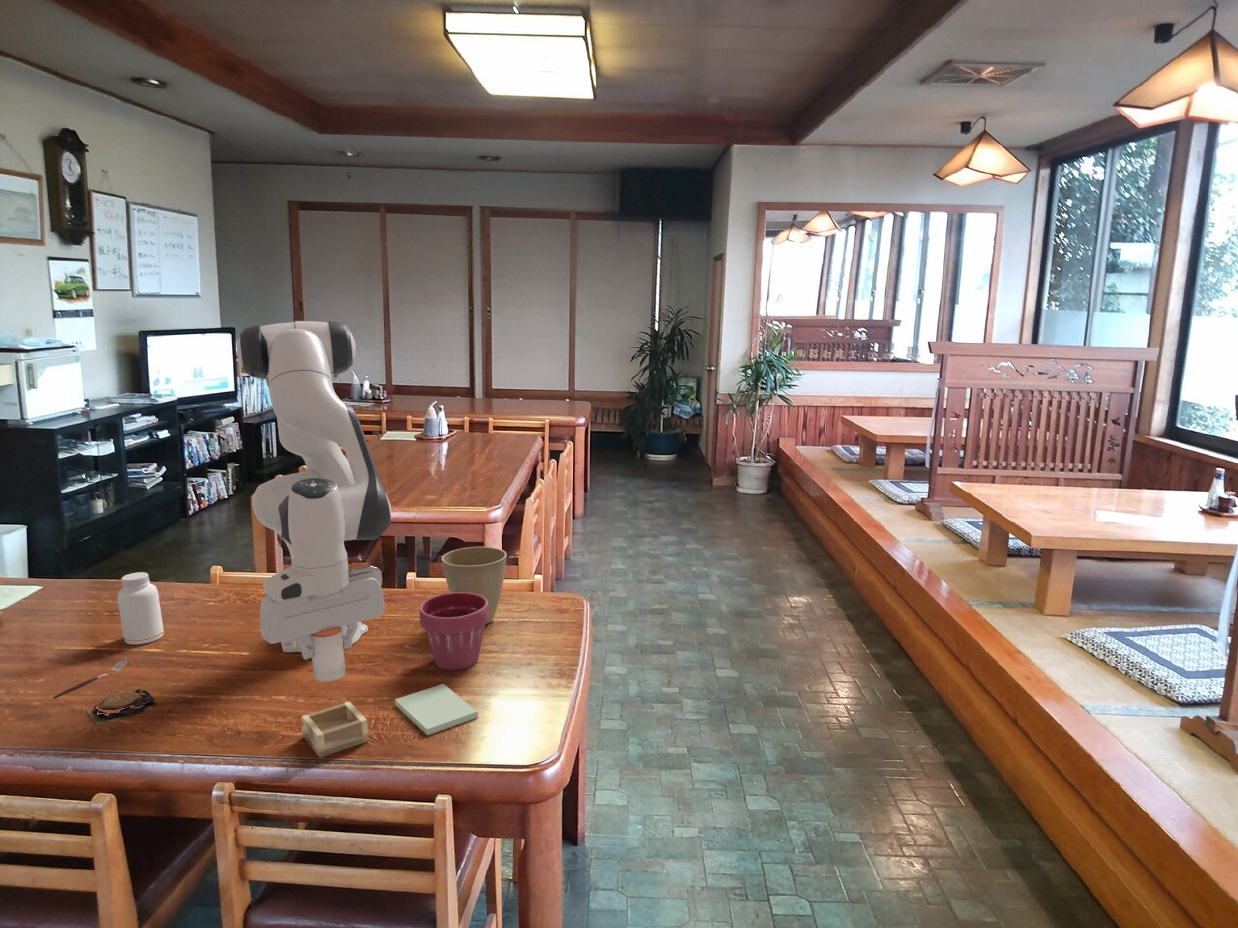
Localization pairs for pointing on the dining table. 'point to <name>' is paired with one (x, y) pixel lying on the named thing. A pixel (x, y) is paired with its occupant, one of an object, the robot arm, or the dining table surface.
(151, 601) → the pill bottle
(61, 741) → the dining table surface
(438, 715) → the pale green flat slab
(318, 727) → the holder
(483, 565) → the plant pot
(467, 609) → the plant pot
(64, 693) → the fork
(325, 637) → the shaker
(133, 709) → the sandwich
